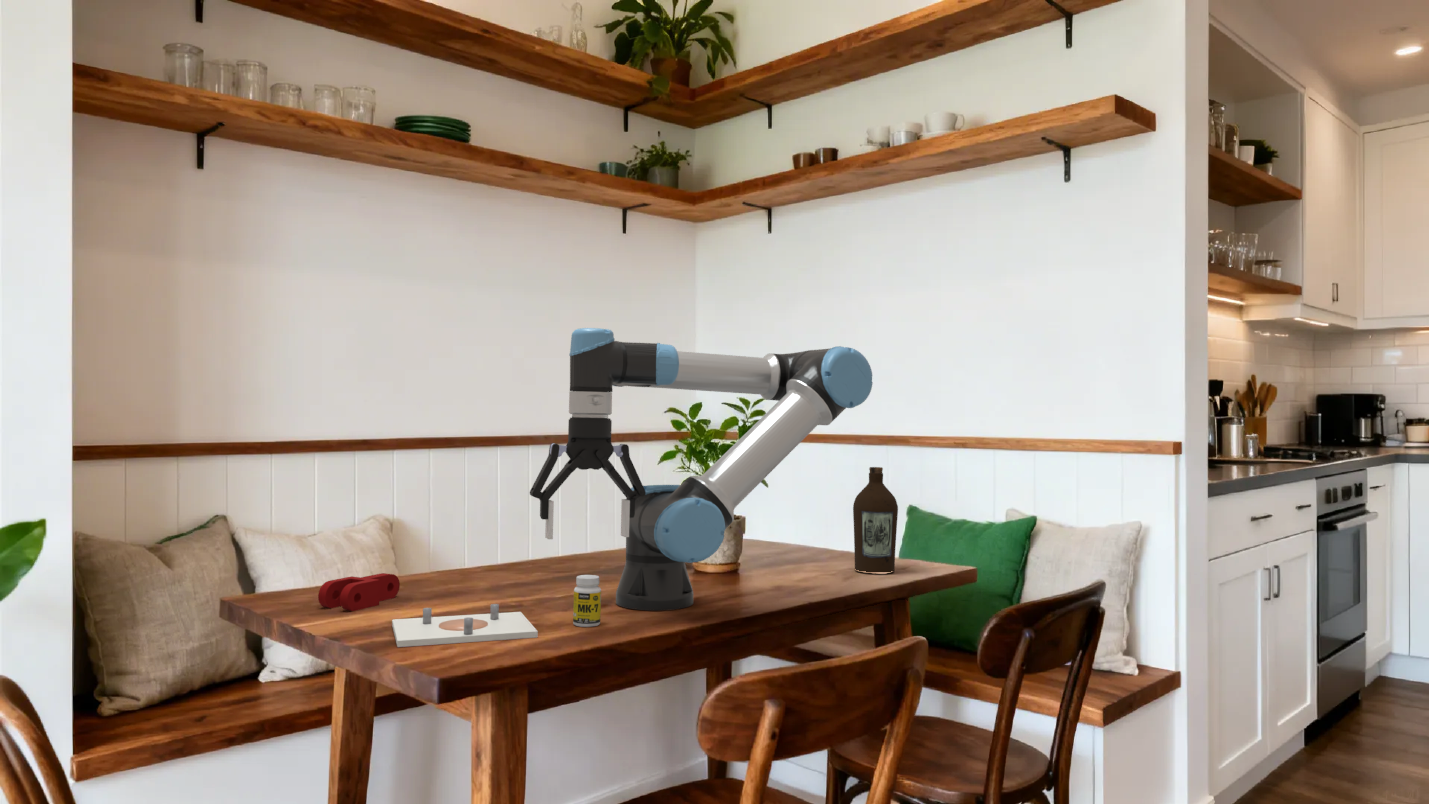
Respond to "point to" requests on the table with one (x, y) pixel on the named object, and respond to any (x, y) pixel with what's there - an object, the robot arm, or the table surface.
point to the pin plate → (462, 628)
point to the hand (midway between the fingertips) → (587, 537)
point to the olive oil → (875, 525)
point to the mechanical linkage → (358, 591)
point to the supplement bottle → (587, 601)
